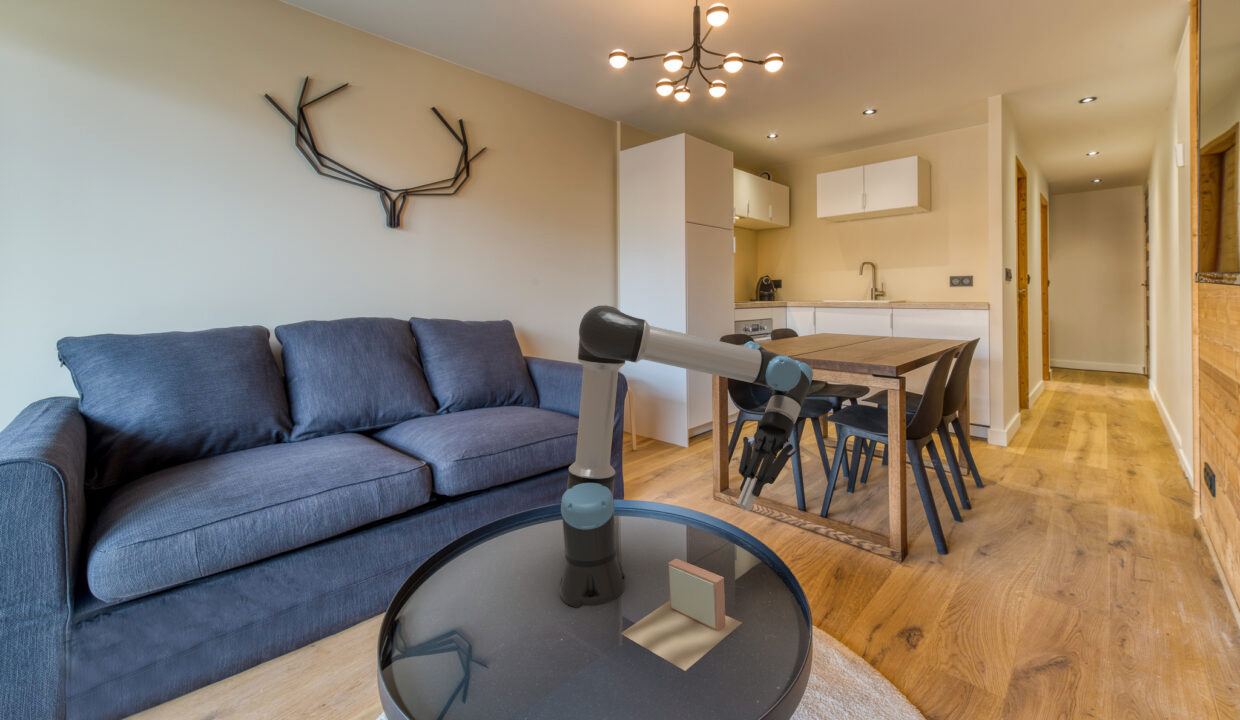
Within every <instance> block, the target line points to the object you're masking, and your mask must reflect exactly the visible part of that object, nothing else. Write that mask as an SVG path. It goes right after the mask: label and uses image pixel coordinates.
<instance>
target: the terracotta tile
mask: <svg viewBox="0 0 1240 720" xmlns="http://www.w3.org/2000/svg"><path fill="white" fill-rule="evenodd" d="M667 564H668V565H667V566H668V567H667V568H668V581H669V582H668V583H669V600H670V607H671V609H673V610H675V611H677V612H680V613H682V614H684V615H686V616H688V617H690V618H692V619H694V620H696V621H698V622H700V623H702V624H704V625H706V626H708V627H710V628H712V629H715V630H717V631H719V630H720V629H722V628H723V627H724V626H725V625H726V621H725V615H726V604H725V603H726V602H725V601H726V600H725V599H726V597H725V577H724V576H721V575H718V574H716V573H714V572H711V571H709V570H707V569H704V568H701V567H699V566H697V565H694V564H691V563H689V562H686V561H684V560H681V559H679V558H674V559H672V560H671V561H668V563H667Z"/></svg>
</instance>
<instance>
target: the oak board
mask: <svg viewBox="0 0 1240 720" xmlns="http://www.w3.org/2000/svg"><path fill="white" fill-rule="evenodd" d="M725 621H726V625H725V626H724V627H723V628H722V629H720V630H719V631H717V630H715V629H712V628H710V627H708V626H706V625H704V624H702V623H700V622H698V621H696V620H694V619H692V618H690V617H688V616H686V615H684V614H682V613H680V612H677V611H675V610H673V609H671V607H670V599H669V600H668V601H666V602H665V603H664V604H662V605H660V606H659V607H657V608H656V609H655V610H653V611H652V612H650V613H648V614H647V615H646V616H644V617H643V618H641V619H640V620H638V621H637V622H635V623H633V624H632V625H630V627H628V628H627V629H625V630H623V631H622V632H621V633H620V635H622V636H624V637H626V638H627V639H629V640H631V641H632V642H634V643H636V644H637V645H639V646H641V647H643V648H644V649H646V650H648V651H649V652H652V653H653V654H654V655H656V656H659V657H660V658H662V659H663V660H665V661H667V662H669V663H670V664H672V665H673V666H675V667H678V668H679V669H681V670H683V671H684V672H687V670H689V669H690V668H691V667H692V666H693V665H694V664H695V663H697V662H698V661H699V660H701V658H703V657H704V656H705V655H707V653H708V652H709V651H711V650H713V648H715V647H716V646H717V645H718V644H719V643H720V642H721V641H722V640H724V639H725V638H727V636H728V635H730V634H731V633H732V632H733V631H735V630H736V629H737V628H738V627H739V626H741V624H743V622H741V621H739V620H737V619H735V618H732V617H730V616H729V615H726V614H725Z"/></svg>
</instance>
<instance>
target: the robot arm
mask: <svg viewBox="0 0 1240 720" xmlns="http://www.w3.org/2000/svg"><path fill="white" fill-rule="evenodd" d="M578 337H579V340H578V352H577V361H578V362H579V363H580V364H581V365H582V367H583V368H582V377H581V379H582V380H581V390H580V391H581V392H580V401H579V403H580V405H579V413H578V414H579V416H578V426H577V427H578V428H577V441H576V450H575V451H576V452H575V461H574V462H573V463H572V464H571V465H569V467H568V472H567V473H568V474H567V485H566V491H565V492H564V493H563V494H562V496H561V505H560V513H561V516H562V527H563V528H562V529H563V530H562V531H563V543H564V544H563V545H564V556H565V557H564V558H565V563H564V566H563V572H562V577H561V579H560V582H559V593H560V594H559V595H560V598H561V600H562V601H563V602H564V603H565V604H567V605H568V606H571V607H573V608H577V609H579V608H582V607H583V606H586V607H587V606H589V607H590V606H591V607H592V606H598V605H604V604H608V603H610V602H613V601H614V600H616V599H618V598H619V597H621V595H622V594H624V592H625V590H626V588H627V578H626V575H625V573H624V571H623V567H622V565H621V563H620V560H619V558H618V554H617V541H616V540H617V539H616V525H615V522H616V521H615V499H614V489H615V488H614V487H615V479H616V478H615V477H616V470H615V469H614V468H613V466H612V465H611V456H612V455H611V453H612V443H613V432H614V422H615V421H614V420H615V411H616V410H615V409H616V400H617V399H616V398H617V387H618V375H619V370H620V369H621V368H622V367H623V366H624V365H626V362H631V363H638V362H640V361H643V360H644V361H648V362H652V363H653V362H654V363H658V364H662V365H666V366H671V367H676V368H681V369H686V370H690V371H693V372H694V371H695V372H700V373H705V374H708V375H714V376H718V377H722V378H723V377H724V378H728V379H733V380H738V381H743V382H747V383H752V384H754V385H759V386H764V387H766V388H767V389H769V390H771V391H772V393H771V396H770V398H769V401H768V403H767V406H765V407H766V408H765V410H764V413H763V415H762V417H761V420H760V421H759V425H758V429H757V431H756V432H755V433H754V435H753V436H750V437H748V436H744V437H743V438H742V442H743V448H742V452H741V458H740V462H739V467H738V473H739V474H740V475H741V477H742V478H743V480H742V482H741V485H740V487H739V491H740V495H739V497H738V499H737V502H736V504H737V505H738V506H739V507H740V508H741V509H742V510H745V509H746V511H748V512H749V511H751V510H752V507H753V504H754V502H755V500H756V498H758V497H760V495H761V493H762V490H763V488H764V485H766V484H769V485H773V484H774V483H775V481H776V480H777V479H778V476H779V475H780V473H781V472H782V471H783V469H784V467H785V465H786V464H787V463H788V461H789V459H790V458H792V457H793V456H794V455H795V454H796V452H797V450H796V448H794V446H793V444H791V443H790V440H789V439H790V438H791V436H792V433H793V430H794V428H795V424H796V422H797V419H798V418H799V414H800V412H801V409H802V407H803V404H804V402H805V399H806V398H807V394H808V391H809V389H810V388H811V385H812V381H813V376H814V371H813V369H812V368H811V366H810V365H808V364H807V363H805V362H801V361H800V360H798V359H797V360H796V359H794V358H791V357H790V356H787V355H784V354H779V353H776V352H774V351H770V350H767V349H766V348H764V347H763V346H762V345H760V344H758V343H756V342H755V341H752V340H750V341H747V342H746V343H744V345H738V344H734V343H729V342H724V341H720V340H716V339H711V338H707V337H703V336H702V337H701V336H698V335H694V334H688V333H684V332H680V331H675V330H671V329H666V328H661V327H657V326H654V325H653V326H652V325H649V323H648V322H647V320H646V319H643V318H638V317H635V316H632V315H629V314H626V313H624V312H622V311H621V310H619V309H618V308H616V307H615V306H612V305H611V306H610V305H606V304H605V305H597V306H594V307H592V308H590V309H588V311H587V312H585V314H584V315H583V317H582V318H581V320H580V323H579V328H578ZM753 447H754V450H753ZM753 451H754V452H753Z"/></svg>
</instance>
